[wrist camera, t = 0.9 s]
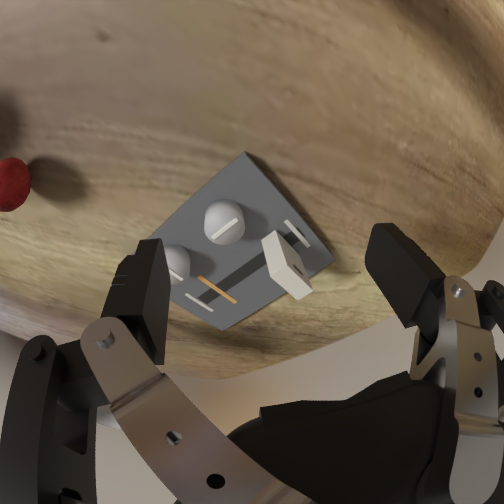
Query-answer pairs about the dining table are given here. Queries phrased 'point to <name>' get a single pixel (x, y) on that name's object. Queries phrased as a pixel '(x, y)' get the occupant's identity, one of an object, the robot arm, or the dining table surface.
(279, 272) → the block
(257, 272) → the console
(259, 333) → the dining table surface
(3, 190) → the onion
